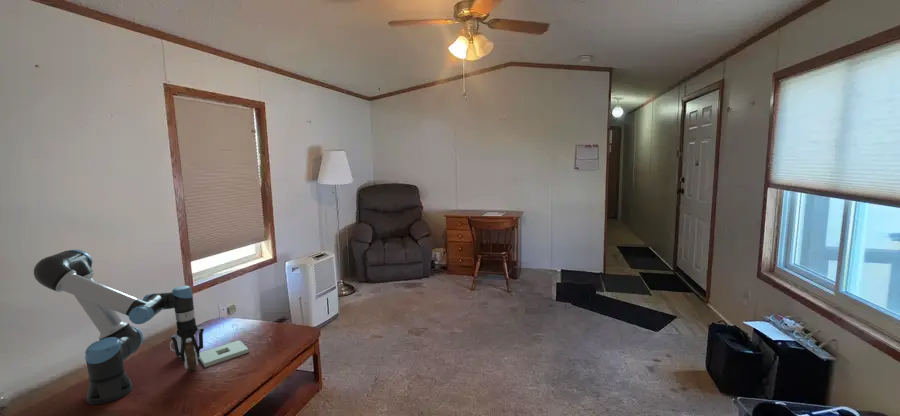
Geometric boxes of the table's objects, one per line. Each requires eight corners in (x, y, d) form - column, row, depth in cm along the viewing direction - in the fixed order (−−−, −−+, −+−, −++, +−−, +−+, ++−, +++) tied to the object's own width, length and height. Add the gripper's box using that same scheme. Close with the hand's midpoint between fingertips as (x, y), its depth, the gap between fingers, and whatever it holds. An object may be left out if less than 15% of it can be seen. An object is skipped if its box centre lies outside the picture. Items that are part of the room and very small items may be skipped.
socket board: (204, 367, 196) (204, 363, 196) (197, 357, 206) (197, 353, 206) (248, 352, 210) (248, 348, 210) (239, 343, 220) (239, 340, 220)
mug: (173, 361, 203) (170, 338, 201) (168, 356, 208) (165, 334, 206) (200, 352, 212) (197, 330, 210) (194, 347, 217) (191, 326, 215)
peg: (188, 372, 192) (185, 344, 190) (186, 369, 194) (183, 342, 192) (197, 369, 194) (193, 342, 192) (195, 366, 197) (192, 339, 195)
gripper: (166, 327, 182) (172, 375, 185) (207, 315, 194) (213, 361, 197) (162, 322, 188) (169, 369, 191) (203, 311, 199) (208, 356, 202)
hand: (191, 365), depth 194 cm, fingers closed on peg, 3 cm apart
